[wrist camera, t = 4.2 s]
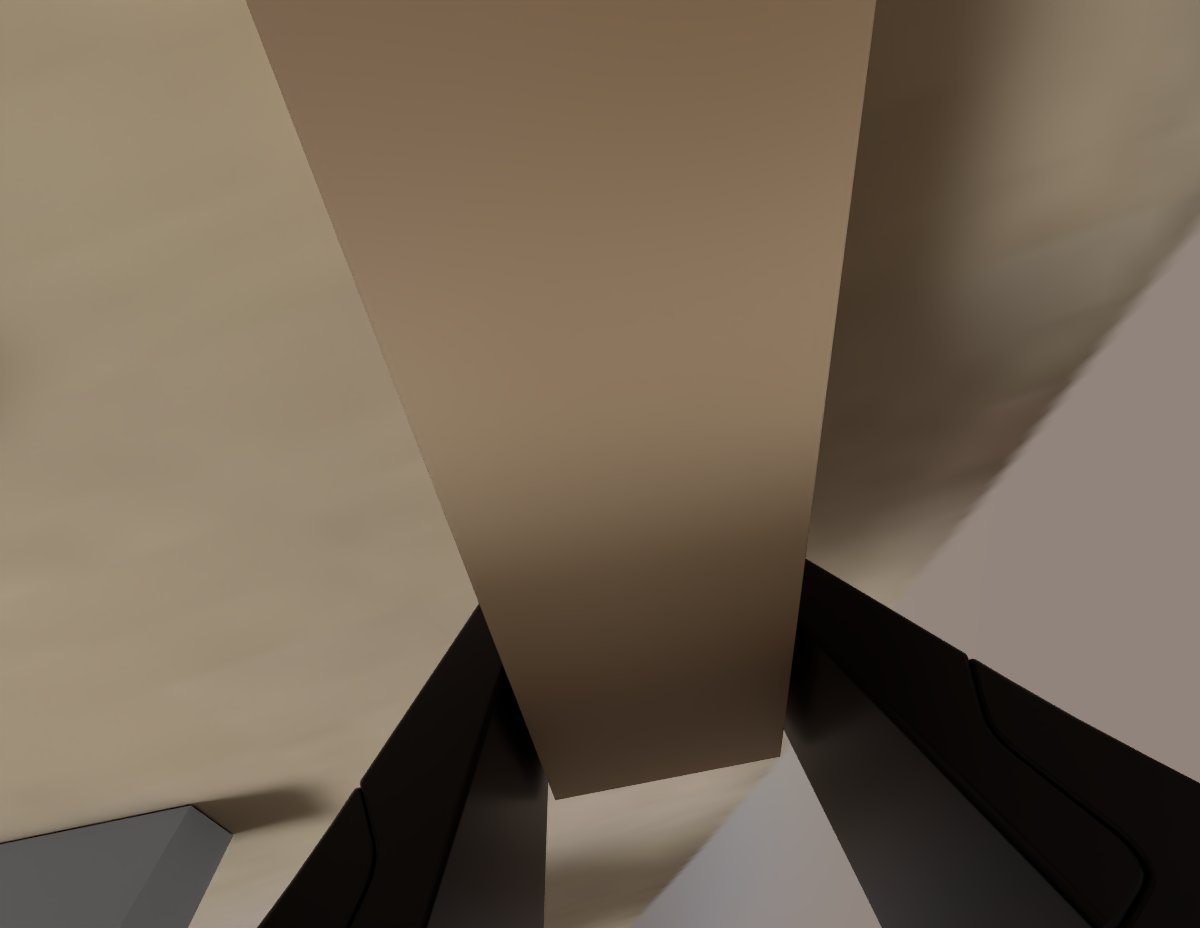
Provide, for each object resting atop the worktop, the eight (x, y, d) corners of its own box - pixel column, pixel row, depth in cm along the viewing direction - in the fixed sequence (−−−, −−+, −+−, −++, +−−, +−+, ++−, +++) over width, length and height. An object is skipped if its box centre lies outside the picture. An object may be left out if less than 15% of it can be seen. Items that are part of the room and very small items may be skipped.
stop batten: (232, 835, 13) (158, 987, 11) (-36, 890, 13) (-176, 1057, 11) (190, 805, 12) (97, 965, 10) (-102, 865, 12) (-274, 1042, 10)
